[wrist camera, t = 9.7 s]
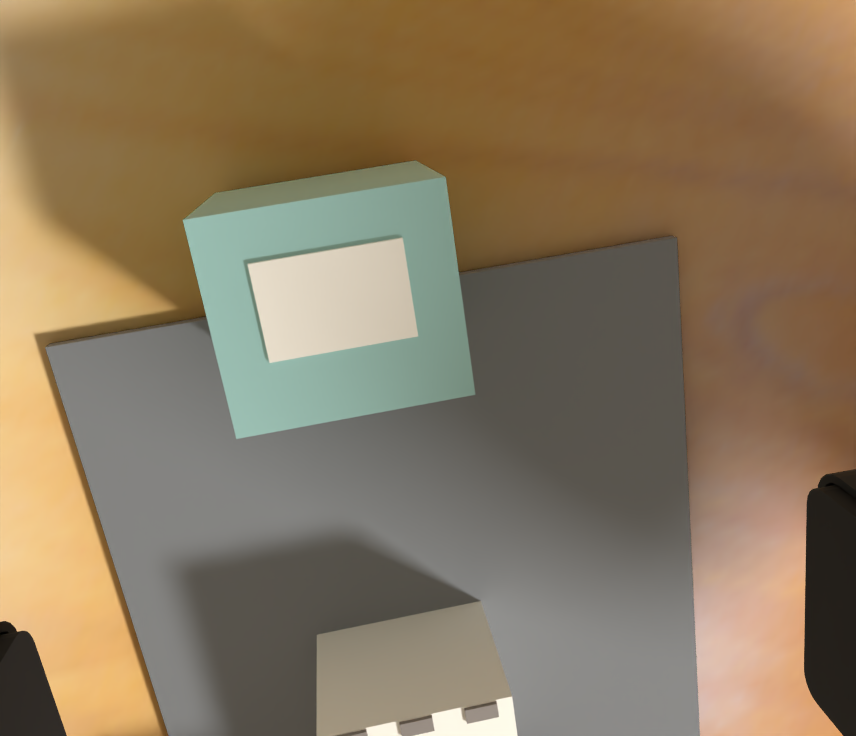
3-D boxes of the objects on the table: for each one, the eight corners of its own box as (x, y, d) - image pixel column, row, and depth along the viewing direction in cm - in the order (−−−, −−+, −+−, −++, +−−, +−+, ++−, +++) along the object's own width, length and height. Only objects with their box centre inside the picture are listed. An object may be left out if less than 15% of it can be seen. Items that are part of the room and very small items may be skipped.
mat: (671, 235, 26) (676, 237, 26) (696, 759, 33) (701, 766, 33) (49, 343, 25) (45, 347, 24) (214, 868, 32) (213, 877, 31)
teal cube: (415, 160, 24) (446, 177, 18) (441, 331, 26) (476, 396, 20) (215, 193, 24) (181, 221, 18) (254, 364, 25) (236, 441, 20)
